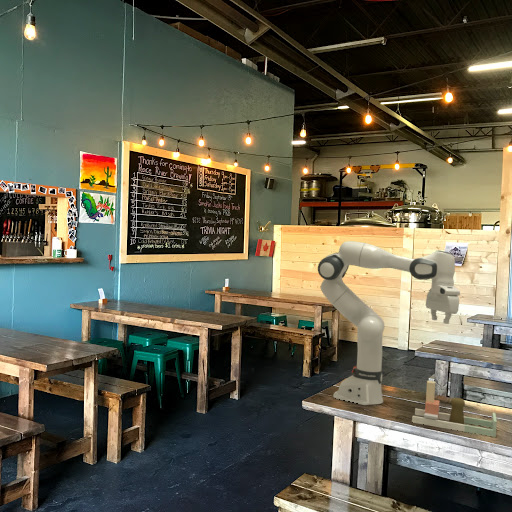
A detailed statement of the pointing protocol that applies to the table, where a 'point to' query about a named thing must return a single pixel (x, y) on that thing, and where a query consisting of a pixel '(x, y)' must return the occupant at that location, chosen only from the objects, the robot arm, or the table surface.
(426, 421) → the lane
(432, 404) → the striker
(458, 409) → the olive rounded upright piece
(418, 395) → the table surface
